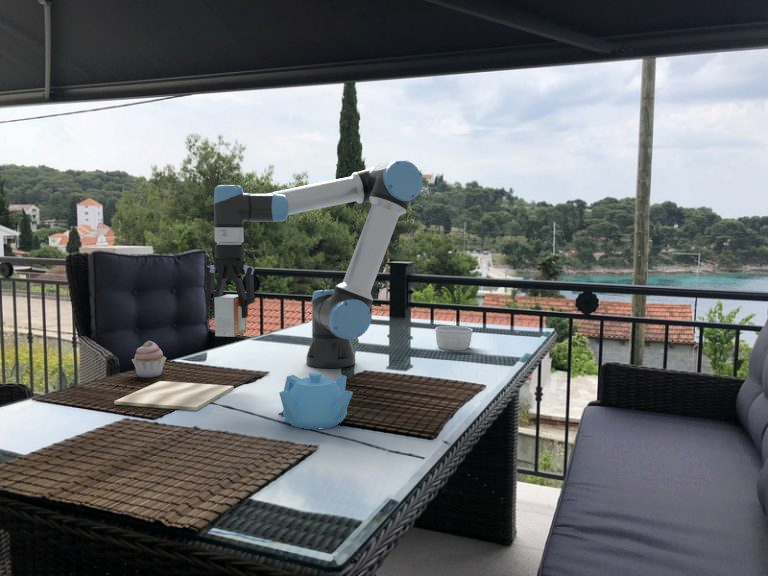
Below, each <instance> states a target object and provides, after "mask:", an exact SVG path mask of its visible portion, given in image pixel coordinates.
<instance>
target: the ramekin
mask: <svg viewBox="0 0 768 576" xmlns="http://www.w3.org/2000/svg"><path fill="white" fill-rule="evenodd" d="M434 332H435V337H436V338H435V339H436V345H437V347H438V349H441V350H445V351H465V350H468V349H469V348H470V345H471V342H472V336H473V333H474V332H473V328H470V327H466V326H461V325H460V326H459V325H441V326H436V327H435V329H434Z"/></svg>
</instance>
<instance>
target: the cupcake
mask: <svg viewBox="0 0 768 576" xmlns="http://www.w3.org/2000/svg"><path fill="white" fill-rule="evenodd" d="M166 360H167V357H166V356H164V354H163V351H162V350H161V348H159V346H158V345H157V343H155V342H154V341H151V340H147V341H146V342H144V344H143V345H142V346H140V347H138V348H136V352H135V354H134V358H132V359H131V362H132V363H133V365H134V369H135V372H136V375H137V376H138V377H139V378H143V379H144V378H146V379H147V378H148V379H149V378H156V377H160V376H161V375H162V373H163V369H164V365H165V363H166Z"/></svg>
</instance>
